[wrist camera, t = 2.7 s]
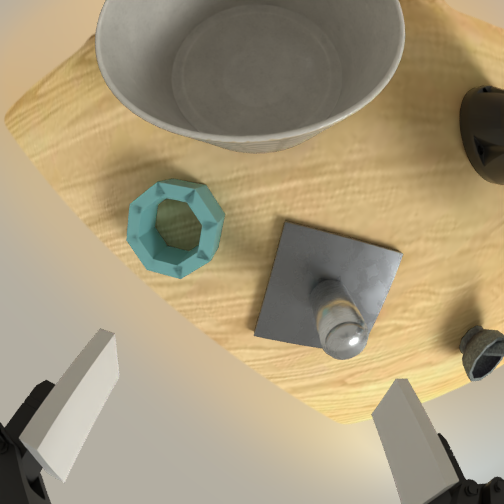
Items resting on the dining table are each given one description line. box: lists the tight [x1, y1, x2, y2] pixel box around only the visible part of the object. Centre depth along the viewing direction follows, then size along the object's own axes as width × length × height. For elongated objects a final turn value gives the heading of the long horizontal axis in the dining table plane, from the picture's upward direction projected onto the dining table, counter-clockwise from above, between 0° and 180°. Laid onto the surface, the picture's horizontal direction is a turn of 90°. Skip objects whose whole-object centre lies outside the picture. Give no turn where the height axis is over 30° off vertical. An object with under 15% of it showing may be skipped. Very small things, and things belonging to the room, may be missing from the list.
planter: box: [95, 0, 405, 154], centre depth 18 cm, size 19×19×18 cm
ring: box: [127, 179, 225, 279], centre depth 31 cm, size 10×10×5 cm
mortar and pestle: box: [459, 326, 504, 381], centre depth 31 cm, size 11×9×12 cm
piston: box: [254, 220, 403, 360], centre depth 30 cm, size 16×16×11 cm
